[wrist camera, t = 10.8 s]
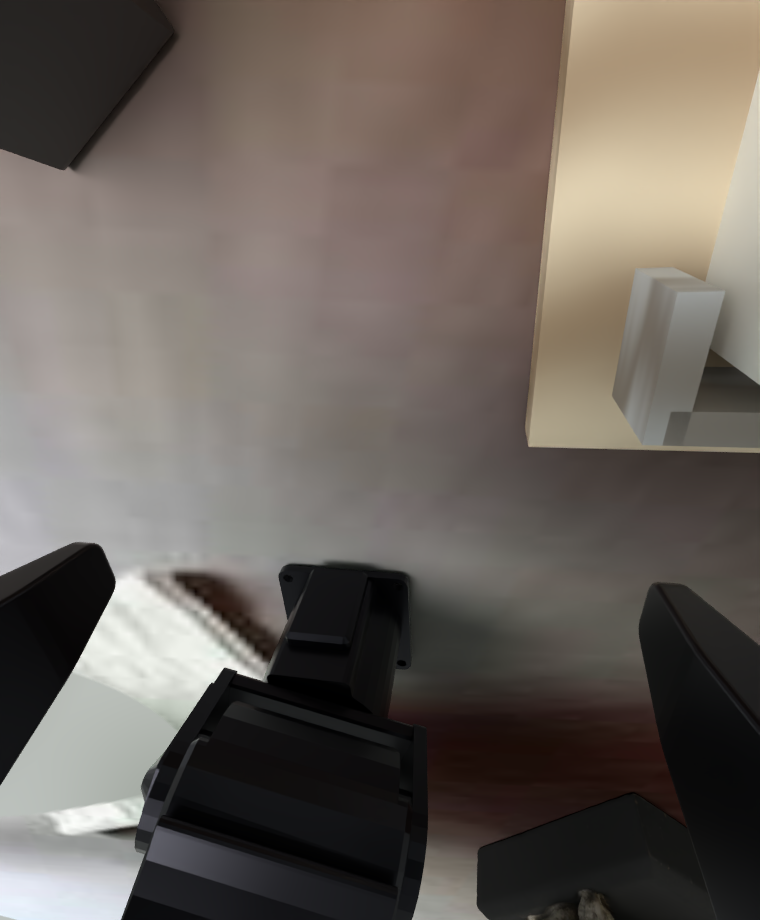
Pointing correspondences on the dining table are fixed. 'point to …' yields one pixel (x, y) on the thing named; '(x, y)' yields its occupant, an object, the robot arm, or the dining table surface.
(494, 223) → the dining table surface
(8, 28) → the door stopper
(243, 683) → the robot arm
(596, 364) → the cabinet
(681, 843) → the coral
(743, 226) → the door
